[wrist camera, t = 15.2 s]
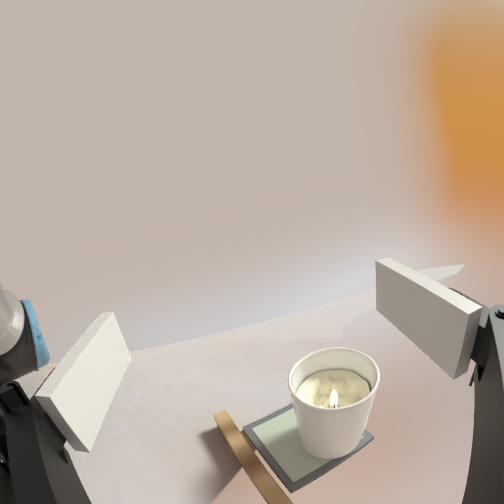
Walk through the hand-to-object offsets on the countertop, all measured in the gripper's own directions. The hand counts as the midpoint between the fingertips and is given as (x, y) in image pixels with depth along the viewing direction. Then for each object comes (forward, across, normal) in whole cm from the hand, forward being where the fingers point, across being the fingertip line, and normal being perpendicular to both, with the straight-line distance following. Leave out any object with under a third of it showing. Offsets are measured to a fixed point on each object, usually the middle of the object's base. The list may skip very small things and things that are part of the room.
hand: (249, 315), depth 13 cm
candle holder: (+11, +7, -26) cm, 29 cm away
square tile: (+12, +4, -27) cm, 30 cm away
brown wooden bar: (+8, -4, -27) cm, 28 cm away
